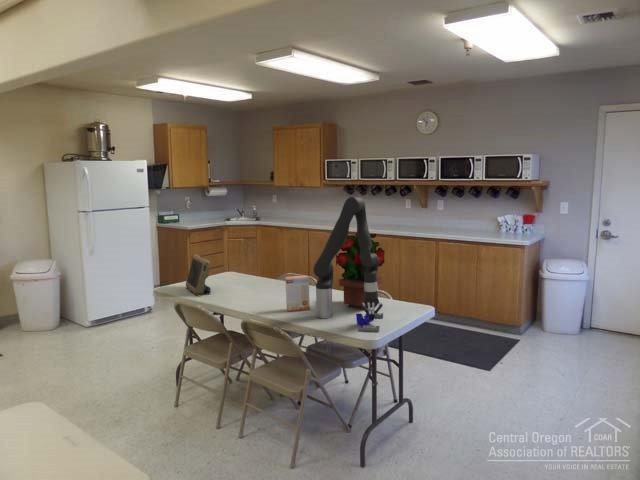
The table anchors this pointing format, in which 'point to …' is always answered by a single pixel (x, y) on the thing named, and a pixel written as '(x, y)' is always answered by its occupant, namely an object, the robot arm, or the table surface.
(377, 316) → the label stands
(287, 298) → the cracker box
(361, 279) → the potted plant
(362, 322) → the cable clip
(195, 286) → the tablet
